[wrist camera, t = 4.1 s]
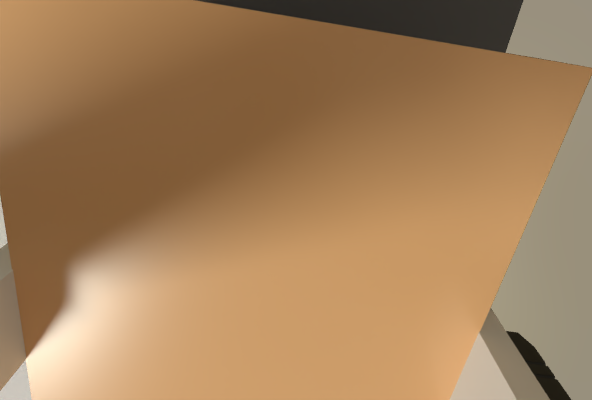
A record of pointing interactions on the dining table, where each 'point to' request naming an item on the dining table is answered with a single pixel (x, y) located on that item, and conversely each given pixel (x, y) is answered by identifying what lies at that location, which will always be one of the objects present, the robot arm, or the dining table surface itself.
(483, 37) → the mat
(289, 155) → the sheet
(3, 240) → the dining table surface
